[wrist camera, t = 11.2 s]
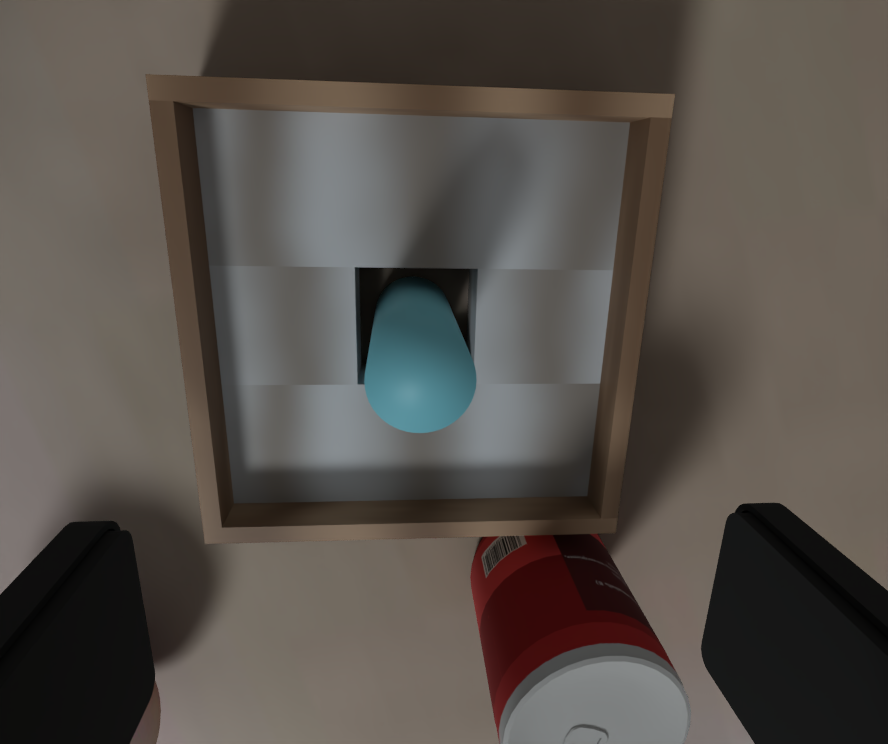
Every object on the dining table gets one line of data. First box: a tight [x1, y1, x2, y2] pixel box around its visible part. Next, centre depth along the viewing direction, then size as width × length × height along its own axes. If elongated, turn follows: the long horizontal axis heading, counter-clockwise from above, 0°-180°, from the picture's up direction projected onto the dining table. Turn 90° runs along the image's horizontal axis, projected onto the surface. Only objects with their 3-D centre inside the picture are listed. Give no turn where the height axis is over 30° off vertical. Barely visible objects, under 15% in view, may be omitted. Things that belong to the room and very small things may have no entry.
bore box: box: [146, 74, 675, 544], centre depth 26 cm, size 19×19×5 cm
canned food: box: [471, 534, 691, 744], centre depth 28 cm, size 8×8×11 cm
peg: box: [364, 276, 477, 433], centre depth 23 cm, size 4×4×10 cm
